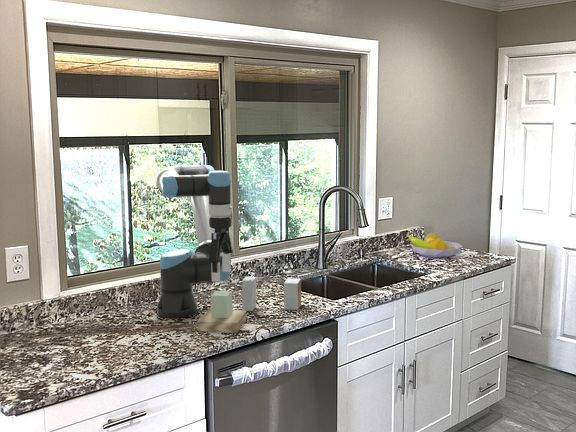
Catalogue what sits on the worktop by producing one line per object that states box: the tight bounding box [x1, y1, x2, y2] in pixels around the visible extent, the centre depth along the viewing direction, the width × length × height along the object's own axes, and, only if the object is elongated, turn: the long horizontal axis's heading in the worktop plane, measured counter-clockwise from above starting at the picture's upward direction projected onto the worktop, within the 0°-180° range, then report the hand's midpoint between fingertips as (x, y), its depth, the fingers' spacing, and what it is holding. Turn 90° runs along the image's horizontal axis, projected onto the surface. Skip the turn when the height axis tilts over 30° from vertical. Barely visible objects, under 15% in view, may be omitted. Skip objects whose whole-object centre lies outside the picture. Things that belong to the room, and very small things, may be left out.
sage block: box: [209, 290, 234, 318], centre depth 214 cm, size 6×6×8 cm
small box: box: [283, 277, 302, 311], centre depth 235 cm, size 8×6×10 cm
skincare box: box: [241, 276, 257, 312], centre depth 232 cm, size 6×4×12 cm
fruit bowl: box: [406, 232, 463, 259], centre depth 325 cm, size 28×27×11 cm
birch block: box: [196, 308, 248, 334], centre depth 214 cm, size 14×14×4 cm
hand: (221, 276), depth 212 cm, fingers open, 13 cm apart
